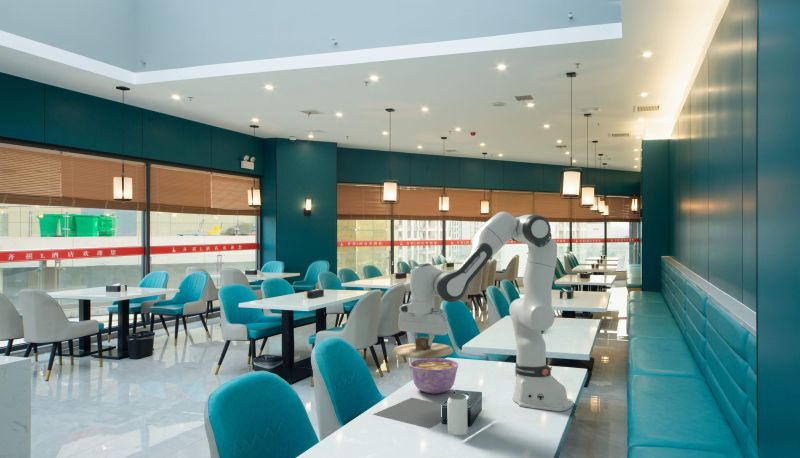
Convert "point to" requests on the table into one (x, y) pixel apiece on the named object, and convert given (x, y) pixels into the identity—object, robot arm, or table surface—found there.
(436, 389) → the bowl of food
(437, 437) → the table surface
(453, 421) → the can
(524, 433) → the table surface
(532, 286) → the robot arm
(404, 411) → the rubber mat
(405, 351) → the oak bowl cover
